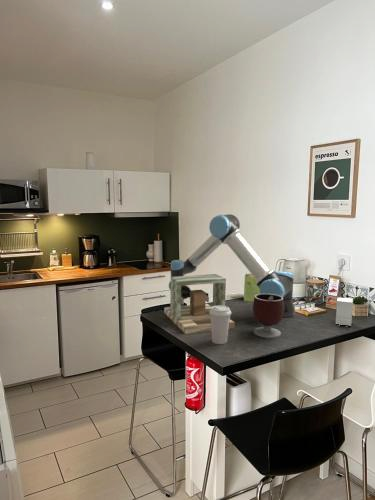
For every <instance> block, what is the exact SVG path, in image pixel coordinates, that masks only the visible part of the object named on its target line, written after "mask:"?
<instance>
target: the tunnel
mask: <svg viewBox="0 0 375 500" xmlns="http://www.w3.org/2000/svg"><path fill="white" fill-rule="evenodd" d="M170 281H171V290H170V305H169V306H166V307H164V308H163V310H164V311H163V313H164V314H165V315H166V316H167V317H168V318H169V319H170V320H171V321H172V322H173V324H175V325H176V327H178V328H179V329H180V330H181V331H182V332H183V333H184V334H185V335H188V334H197V333H198V334H199V333H204V332H205V333H206V332H211V317H210V313H209V311H210V309H211V307H212V306H218V305H220V306H226V293H227V292H226V286H227V283H226V281H227V279H226V278H225V277H223V276H221V275H219V274H217V273H216V274H215V273H213V274H196V275H184V276H175V277H171V276H170ZM210 284H212V289H213V290H212V306H211V305H210V304H208V303H205V316H196V317H194V316H193V315H191V314H190V304H189V305H182V304H181V286H183V285H186V286H194V285H210ZM235 324H236V322H235V321H233V320H232V319H230V321H229V329H228V330H233V329H235Z"/></svg>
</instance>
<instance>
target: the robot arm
mask: <svg viewBox="0 0 375 500" xmlns="http://www.w3.org/2000/svg"><path fill="white" fill-rule="evenodd" d="M240 226H241V224H240V220H239V219H238V217H237V216H236V215H234V214H218V215H216V216H214V217H213V218H211V220H210V222H209V232H210V234H211V235H210V236H209V237H208V238H207V239H206V240H205V241H204V242H203V243H202V244H201V245H200V246H199V247H198V248H197V249H196V250H195V251H194V252H192V254H191V255H190V256H189V257H188V258H186V260H181V259H174V260H171V262H170V278H171V277H175V276H186V275H187V274H188V275H189V274H191V273H192V274H193V272H195V271H196V270H197V268H198V267H199V265H201V264H202V263H203V262H204V261H205V260H206V259H207V258H208V257H210V255H211V254H212V253H213V252H215V251H216V250H217V248H219V247H220V246H221V245H222V244H223V245H227V246H228V247H229V248H230V249H231V251H232V252H233V253H234V254H235V255H236V257H237V258H238V259H239V260H240V262H241V263H242V264H243V266H245V268H246V269H247V270H248V272H249V273H251V274H252V275H253V276H254V278H255V279H256V285H257V286H258V287H259V289H260V294H275V295H279V296H281V297H283V302H284V312H283V317H282V318H292V317H294V316H295V315H296V309H295V305H294V302H293V293H294V279H295V278H294V273H293V272H289V271H282V270H281V271H280V270H275V269H270V268H269V267H268V266H267V264H265V262H264V261H263V260H262V259H261V258H260V256H259V254H257V253H256V251H255V250H254V249H253V248H252V247H251V245H250V244H249V243H248V242H247V241H246V239H245V238H244V237H243V236H242V235H241V229H240ZM168 288H169V290H170V291H171V280H170V281H169V283H168ZM190 290H191V288H190V287H189V285H183V286H181V305H184V304H185V300H187V299H188V298H190ZM209 300H210V297H209V293H208V292H206V299H205V303H206V302H207V303H209V302H210V301H209Z"/></svg>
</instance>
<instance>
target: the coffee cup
mask: <svg viewBox="0 0 375 500" xmlns="http://www.w3.org/2000/svg"><path fill="white" fill-rule="evenodd" d="M209 313H210V317H211V331H210V332H211V342H212V343H213V344H215V345H224V344H227V343H228V337H229V336H228V335H229V330H230V329H229V321H230V320H231V315H232V310H231V308H230V307H229V306H227V305H225V306H220V305H218V306H213V305H212V306H211V309H210V311H209Z"/></svg>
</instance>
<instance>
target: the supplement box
mask: <svg viewBox="0 0 375 500" xmlns="http://www.w3.org/2000/svg"><path fill="white" fill-rule="evenodd" d="M353 307H354V298H349V297H346V298H345V297H337V300H336V312H335V325H336V324H339V325H338V326H340V325H349V326H351V327H352V323H353V322H352V321H353V318H352V317H353Z"/></svg>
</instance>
